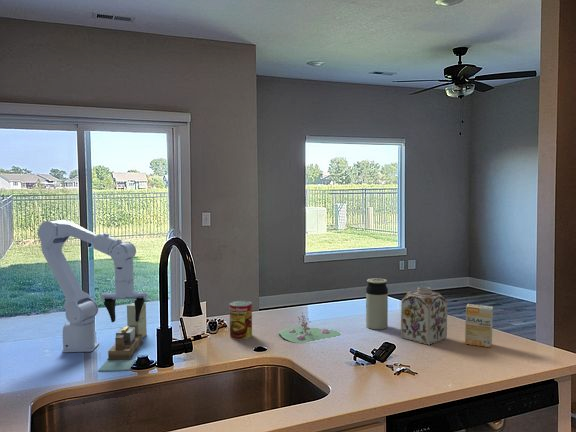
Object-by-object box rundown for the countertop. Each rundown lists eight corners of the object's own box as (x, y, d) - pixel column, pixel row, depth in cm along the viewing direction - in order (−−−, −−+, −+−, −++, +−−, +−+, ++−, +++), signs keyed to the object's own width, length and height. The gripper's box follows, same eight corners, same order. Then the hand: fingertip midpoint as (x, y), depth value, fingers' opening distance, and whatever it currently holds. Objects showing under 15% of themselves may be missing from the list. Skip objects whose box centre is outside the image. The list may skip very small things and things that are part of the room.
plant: (338, 326, 190) (338, 303, 190) (355, 342, 170) (355, 317, 170) (274, 329, 186) (274, 306, 186) (283, 347, 166) (283, 320, 165)
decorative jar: (428, 346, 164) (429, 292, 163) (399, 338, 173) (400, 287, 172) (448, 338, 172) (448, 287, 171) (419, 331, 181) (419, 282, 180)
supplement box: (464, 344, 165) (465, 306, 164) (466, 340, 170) (467, 303, 169) (491, 348, 161) (491, 308, 161) (492, 344, 166) (493, 305, 165)
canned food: (225, 338, 174) (225, 304, 173) (236, 332, 181) (236, 299, 181) (245, 340, 171) (245, 306, 171) (255, 334, 179) (255, 301, 178)
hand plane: (130, 360, 153) (129, 337, 152) (107, 360, 152) (106, 338, 152) (143, 342, 170) (142, 322, 170) (122, 342, 170) (122, 322, 169)
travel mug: (390, 326, 188) (390, 279, 187) (382, 331, 181) (383, 282, 180) (371, 323, 192) (371, 277, 191) (362, 328, 185) (362, 280, 184)
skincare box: (138, 340, 172) (137, 306, 172) (126, 339, 173) (126, 305, 173) (147, 335, 179) (146, 301, 178) (135, 334, 180) (135, 301, 179)
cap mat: (98, 371, 143) (98, 370, 143) (106, 361, 151) (106, 360, 151) (129, 370, 144) (129, 369, 144) (136, 360, 152) (136, 359, 152)
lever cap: (116, 345, 158) (115, 330, 157) (121, 339, 164) (121, 325, 163) (130, 344, 158) (130, 330, 158) (135, 339, 164) (134, 324, 164)
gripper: (97, 282, 155) (98, 325, 156) (144, 281, 156) (145, 324, 157) (104, 278, 162) (105, 319, 163) (149, 277, 163) (150, 318, 164)
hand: (125, 321), depth 160 cm, fingers open, 7 cm apart
